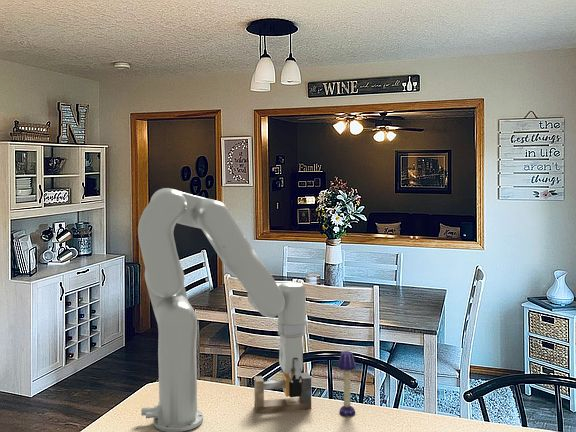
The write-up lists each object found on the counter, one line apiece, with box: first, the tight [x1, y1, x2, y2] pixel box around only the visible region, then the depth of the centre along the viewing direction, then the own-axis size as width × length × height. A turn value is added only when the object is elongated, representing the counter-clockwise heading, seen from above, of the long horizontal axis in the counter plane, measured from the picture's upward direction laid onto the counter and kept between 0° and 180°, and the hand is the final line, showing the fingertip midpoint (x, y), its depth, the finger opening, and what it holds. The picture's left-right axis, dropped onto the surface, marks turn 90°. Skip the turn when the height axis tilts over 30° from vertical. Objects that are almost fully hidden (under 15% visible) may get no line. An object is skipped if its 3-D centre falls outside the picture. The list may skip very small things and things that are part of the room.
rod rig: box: [253, 372, 312, 414], centre depth 155 cm, size 15×4×8 cm, turn 101°
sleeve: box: [282, 371, 295, 398], centre depth 155 cm, size 4×5×5 cm
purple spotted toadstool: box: [337, 350, 356, 417], centre depth 151 cm, size 5×5×17 cm
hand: (291, 389), depth 155 cm, fingers open, 9 cm apart
